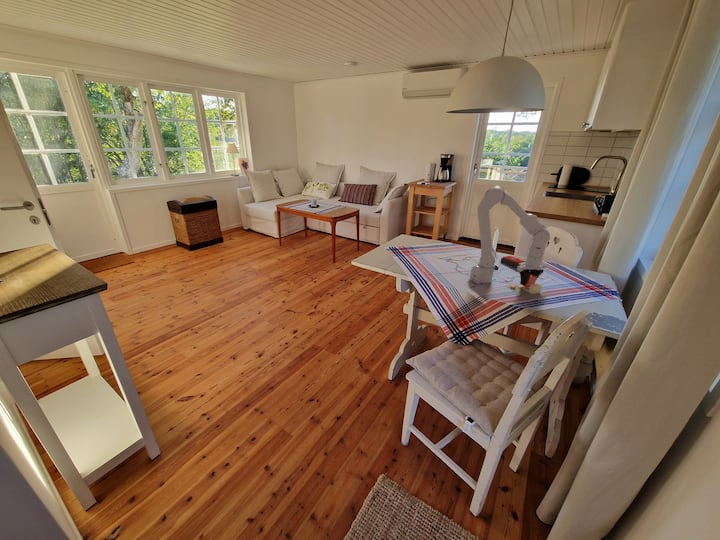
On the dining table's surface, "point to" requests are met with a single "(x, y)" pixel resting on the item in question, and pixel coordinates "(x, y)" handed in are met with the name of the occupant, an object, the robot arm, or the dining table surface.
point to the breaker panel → (526, 291)
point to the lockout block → (530, 281)
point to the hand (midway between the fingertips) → (527, 283)
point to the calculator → (513, 260)
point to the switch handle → (535, 288)
